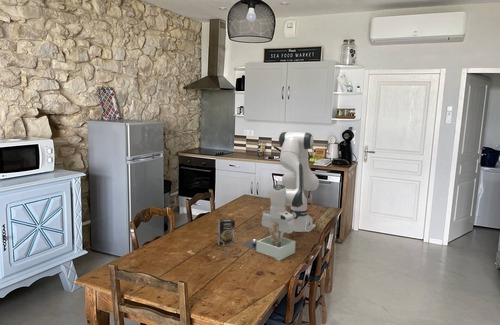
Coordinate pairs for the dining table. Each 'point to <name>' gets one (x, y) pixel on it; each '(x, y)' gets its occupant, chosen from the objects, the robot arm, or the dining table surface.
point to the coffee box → (226, 232)
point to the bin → (276, 248)
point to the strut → (275, 235)
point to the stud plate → (251, 244)
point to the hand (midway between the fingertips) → (276, 236)
